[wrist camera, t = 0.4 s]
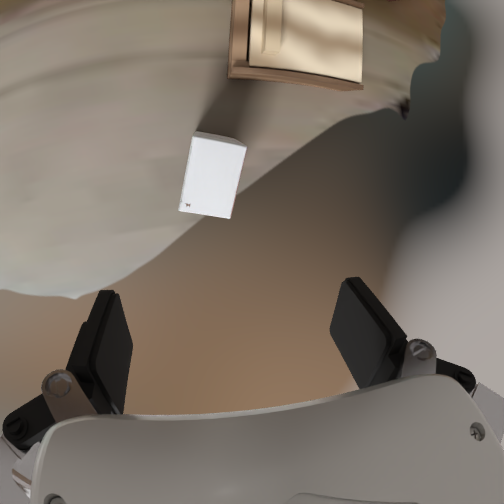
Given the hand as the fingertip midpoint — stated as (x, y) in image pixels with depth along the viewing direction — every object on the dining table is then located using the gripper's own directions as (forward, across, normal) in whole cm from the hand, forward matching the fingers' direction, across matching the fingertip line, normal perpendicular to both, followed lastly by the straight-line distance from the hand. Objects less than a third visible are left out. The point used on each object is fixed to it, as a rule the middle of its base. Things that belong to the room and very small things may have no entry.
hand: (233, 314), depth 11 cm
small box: (+29, 0, -1) cm, 29 cm away
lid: (+24, -11, -19) cm, 33 cm away
